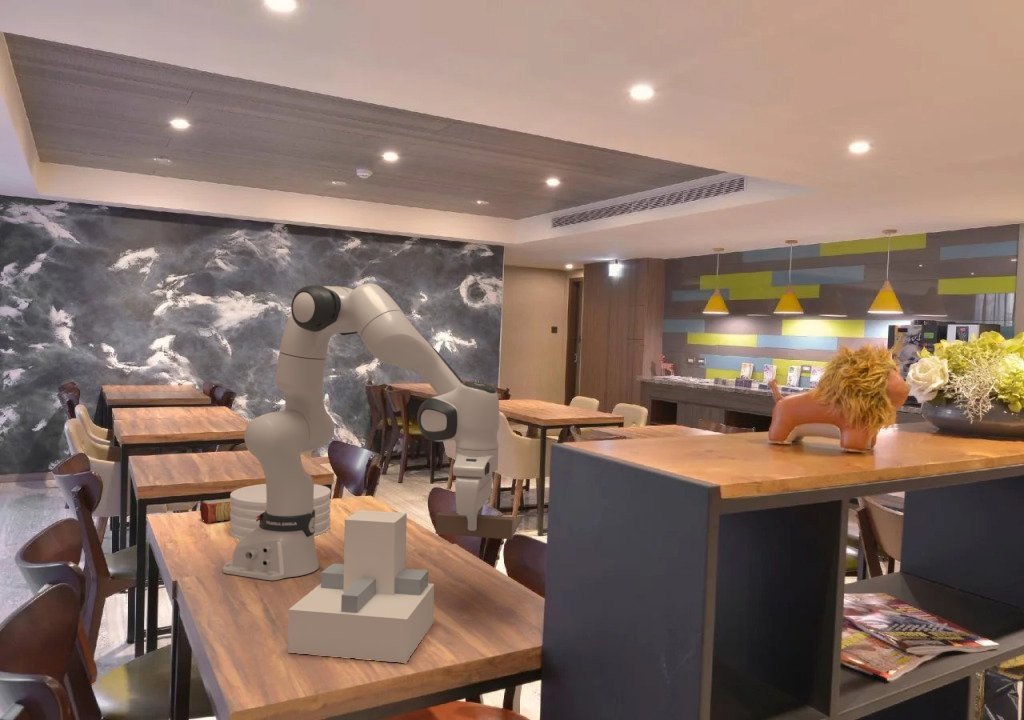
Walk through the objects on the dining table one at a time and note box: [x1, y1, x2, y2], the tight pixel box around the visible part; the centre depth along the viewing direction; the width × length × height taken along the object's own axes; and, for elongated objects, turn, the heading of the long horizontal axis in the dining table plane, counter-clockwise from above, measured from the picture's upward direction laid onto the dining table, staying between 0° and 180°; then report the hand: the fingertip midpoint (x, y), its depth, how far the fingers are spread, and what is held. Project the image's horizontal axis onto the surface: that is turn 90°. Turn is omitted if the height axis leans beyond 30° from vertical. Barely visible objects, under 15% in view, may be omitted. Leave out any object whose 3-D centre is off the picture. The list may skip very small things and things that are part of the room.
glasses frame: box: [435, 510, 522, 540], centre depth 158 cm, size 16×15×4 cm
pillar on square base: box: [287, 509, 435, 663], centre depth 139 cm, size 22×19×22 cm
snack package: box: [200, 498, 231, 524], centre depth 228 cm, size 21×7×7 cm, turn 132°
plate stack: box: [229, 483, 332, 541], centre depth 215 cm, size 28×28×12 cm
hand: (474, 527), depth 152 cm, fingers closed on glasses frame, 3 cm apart
